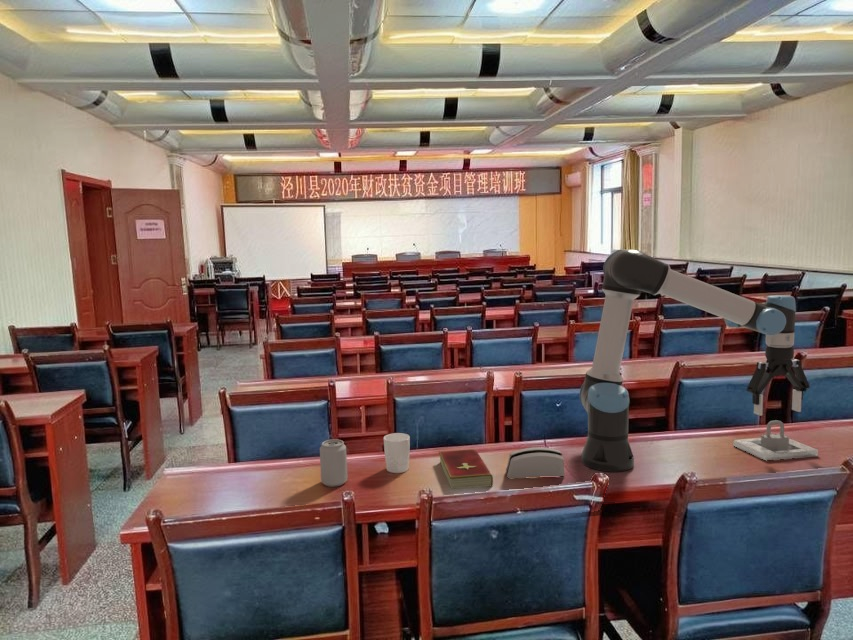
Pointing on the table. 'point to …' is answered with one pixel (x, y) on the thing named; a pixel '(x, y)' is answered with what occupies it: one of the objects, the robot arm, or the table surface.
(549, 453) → the napkin holder
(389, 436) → the white cup
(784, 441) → the padlock
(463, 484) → the hardcover book
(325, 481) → the can
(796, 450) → the holed plate
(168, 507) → the table surface
